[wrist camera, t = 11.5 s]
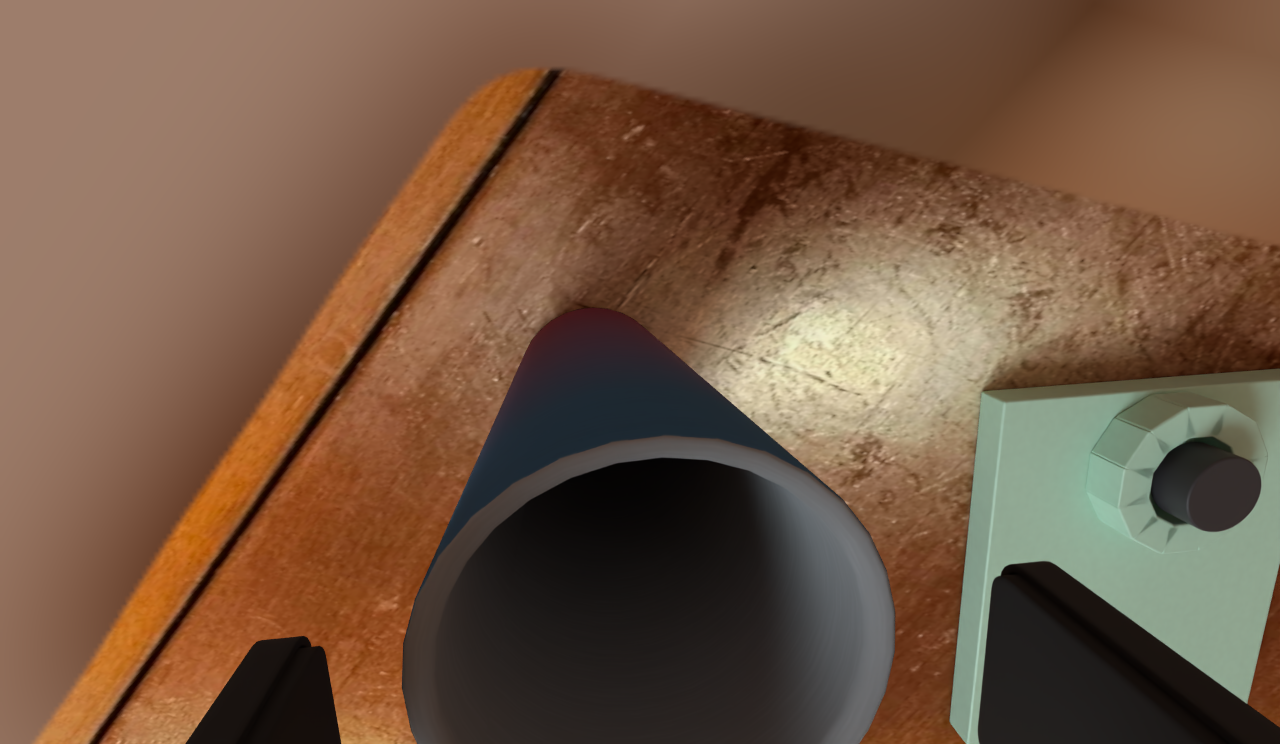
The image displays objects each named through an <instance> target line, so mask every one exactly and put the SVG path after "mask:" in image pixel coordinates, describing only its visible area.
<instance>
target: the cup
mask: <svg viewBox="0 0 1280 744" xmlns="http://www.w3.org/2000/svg"><path fill="white" fill-rule="evenodd" d="M894 652H895V608H894V603H893V599H892V594H891V589H890V584H889V579H888V575H887V570H886V568H885V566H884V564H883V562H882V559H881V557H880V555H879V553H878V551H877V549H876V547H875V544H874V542H873V540H872V538H871V536H870V534H869V532H868V531H867V530H866V528H865V527H864V526H863V524H862V523H861V522H860V521H859V519H858V518H857V517H856V516H855V514H854V513H853V512H852V510H851V509H850V508H849V507H848V505H847V504H846V503H845V502H844V500H843V499H842V498H841V497H839V496H838V495H837V494H836V493H835V492H834V491H833V490H831V489H830V488H829V487H828V486H827V485H826V484H824V483H823V482H822V481H821V480H820V479H819V478H818V477H816V476H815V475H814V474H813V473H812V472H811V471H809V470H808V469H807V468H806V467H805V466H804V465H802V464H801V463H800V462H799V461H798V460H797V459H796V458H794V457H793V456H792V455H791V454H790V453H789V452H787V451H786V450H785V449H784V448H783V447H782V446H781V445H779V444H778V443H777V442H776V441H775V440H774V439H772V438H771V437H770V436H769V435H768V434H767V433H765V432H764V431H763V430H762V429H761V428H760V427H759V426H757V425H756V424H755V423H754V422H753V421H752V420H750V419H749V418H748V417H747V416H746V415H745V414H744V413H742V412H741V411H740V410H739V409H738V408H737V407H735V406H734V405H733V404H732V403H731V402H730V401H728V400H727V399H726V398H725V397H724V396H723V395H722V394H720V393H719V392H718V391H717V390H716V389H715V388H713V387H712V386H711V385H710V384H709V383H708V382H707V381H705V380H704V379H703V378H702V377H701V376H700V375H698V374H697V373H696V372H695V371H694V370H693V369H691V368H690V367H689V366H688V365H687V364H686V363H685V362H683V361H682V360H681V359H680V358H679V357H678V356H676V355H675V354H674V353H673V352H672V351H671V350H670V349H668V348H667V347H666V346H665V345H664V344H663V343H661V342H660V341H659V340H658V339H657V338H656V337H654V336H653V335H652V334H651V333H650V332H649V331H648V330H646V329H645V328H644V327H643V326H642V325H640V324H639V323H638V322H637V321H635V320H634V319H632V318H630V317H628V316H626V315H625V314H623V313H620V312H617V311H613V310H610V309H603V308H585V309H578V310H574V311H571V312H568V313H565V314H563V315H561V316H559V317H557V318H555V319H554V320H552V321H550V322H549V323H548V324H547V325H546V326H544V327H543V328H542V329H541V330H540V331H539V332H538V333H537V335H536V336H535V337H534V338H533V340H532V341H531V343H530V345H529V347H528V349H527V350H526V352H525V354H524V357H523V359H522V361H521V363H520V366H519V368H518V370H517V372H516V375H515V377H514V379H513V381H512V384H511V386H510V388H509V390H508V392H507V395H506V397H505V399H504V401H503V404H502V406H501V408H500V410H499V413H498V415H497V417H496V419H495V422H494V424H493V426H492V428H491V430H490V433H489V435H488V437H487V439H486V442H485V444H484V446H483V448H482V451H481V453H480V455H479V457H478V460H477V462H476V464H475V466H474V468H473V471H472V473H471V475H470V477H469V480H468V482H467V484H466V486H465V489H464V491H463V493H462V495H461V498H460V500H459V502H458V504H457V506H456V509H455V511H454V513H453V515H452V518H451V520H450V522H449V524H448V527H447V529H446V531H445V533H444V536H443V538H442V540H441V542H440V545H439V547H438V549H437V551H436V553H435V556H434V558H433V560H432V562H431V565H430V567H429V569H428V571H427V574H426V576H425V578H424V580H423V583H422V585H421V587H420V589H419V591H418V594H417V596H416V598H415V602H414V605H413V609H412V613H411V617H410V620H409V624H408V628H407V631H406V635H405V639H404V643H403V671H402V690H403V695H404V699H405V704H406V709H407V713H408V718H409V723H410V728H411V731H412V733H413V736H414V738H415V740H416V742H417V744H859V743H860V741H861V740H862V738H863V737H864V735H865V734H866V732H867V731H868V729H869V727H870V725H871V723H872V720H873V718H874V716H875V714H876V712H877V709H878V707H879V705H880V703H881V700H882V698H883V696H884V694H885V691H886V687H887V683H888V678H889V674H890V670H891V665H892V661H893V657H894Z"/></svg>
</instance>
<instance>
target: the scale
mask: <svg viewBox="0 0 1280 744" xmlns="http://www.w3.org/2000/svg"><path fill="white" fill-rule="evenodd" d="M1189 442H1203V443H1206V444H1209V445H1212V446H1214V447H1217V448H1219V449H1222V450H1225V451H1227V452H1230V453H1232V454H1235V455H1238V456H1240V457H1243V458H1245V459H1247V460H1249V461H1250V462H1252V463H1253V464H1254V465H1255V466H1256V468H1257V469H1258V471H1259V473H1260V476H1261V492H1260V496H1259V499H1258V501H1257V503H1256V505H1255V507H1254V508H1253V510H1252V511H1251V512H1250V514H1249V515H1248V516H1247V517H1246V518H1245V519H1244V520H1243V521H1241V522H1240V523H1239V524H1237V525H1236V526H1234V527H1232V528H1230V529H1227V530H1224V531H1220V532H1206V531H1202V530H1200V529H1198V528H1196V527H1194V526H1192V525H1190V524H1188V523H1186V522H1184V521H1182V520H1180V519H1179V518H1177V517H1175V516H1173V515H1171V514H1169V513H1167V512H1165V511H1163V510H1162V509H1160V508H1159V507H1158V506H1157V504H1156V503H1155V502H1154V500H1153V498H1152V495H1151V485H1152V479H1153V473H1154V472H1155V470H1156V469H1157V468H1158V466H1159V465H1160V463H1161V462H1162V460H1163V459H1164V458H1165V456H1166V455H1167V453H1168V452H1169V451H1171V450H1172V449H1174V448H1175V447H1177V446H1179V445H1182V444H1185V443H1189ZM1037 561H1050V562H1052V563H1053V564H1055V565H1057V566H1058V567H1060V568H1061V569H1062V570H1064V571H1065V572H1067V573H1068V574H1069V575H1071V576H1072V577H1073V578H1075V579H1076V580H1078V581H1079V582H1080V583H1082V584H1083V585H1084V586H1086V587H1087V588H1088V589H1090V590H1091V591H1093V592H1094V593H1095V594H1097V595H1098V596H1099V597H1101V598H1102V599H1104V600H1105V601H1106V602H1108V603H1109V604H1110V605H1112V606H1113V607H1115V608H1116V609H1117V610H1119V611H1120V612H1121V613H1123V614H1124V615H1126V616H1127V617H1128V618H1130V619H1131V620H1132V621H1134V622H1135V623H1137V624H1138V625H1139V626H1141V627H1142V628H1143V629H1145V630H1146V631H1148V632H1149V633H1150V634H1152V635H1153V636H1154V637H1156V638H1157V639H1159V640H1160V641H1161V642H1163V643H1164V644H1165V645H1167V646H1168V647H1170V648H1171V649H1172V650H1174V651H1175V652H1176V653H1178V654H1179V655H1181V656H1182V657H1183V658H1185V659H1186V660H1187V661H1189V662H1190V663H1192V664H1193V665H1194V666H1196V667H1197V668H1198V669H1200V670H1201V671H1203V672H1204V673H1205V674H1207V675H1208V676H1209V677H1211V678H1212V679H1214V680H1215V681H1216V682H1218V683H1219V684H1220V685H1222V686H1223V687H1224V688H1226V689H1227V690H1229V691H1230V692H1231V693H1233V694H1234V695H1235V696H1237V697H1238V698H1240V699H1241V700H1242V701H1244V702H1245V703H1246V704H1247V702H1248V698H1249V693H1250V689H1251V685H1252V680H1253V676H1254V672H1255V668H1256V663H1257V659H1258V655H1259V650H1260V646H1261V642H1262V637H1263V633H1264V629H1265V625H1266V620H1267V616H1268V612H1269V607H1270V603H1271V599H1272V594H1273V590H1274V586H1275V582H1276V577H1277V573H1278V569H1279V564H1280V369H1267V370H1254V371H1241V372H1228V373H1215V374H1202V375H1188V376H1175V377H1162V378H1149V379H1136V380H1123V381H1110V382H1097V383H1084V384H1071V385H1058V386H1044V387H1031V388H1018V389H1005V390H992V391H983V392H982V394H981V404H980V414H979V425H978V435H977V445H976V455H975V466H974V476H973V486H972V496H971V507H970V517H969V527H968V537H967V548H966V558H965V568H964V578H963V588H962V599H961V609H960V619H959V629H958V640H957V650H956V660H955V670H954V681H953V691H952V701H951V711H950V723H951V724H952V726H953V727H954V728H955V730H956V731H957V732H958V734H959V735H960V736H961V738H962V739H963V740H964V742H965V743H966V744H979V739H978V720H979V710H980V700H981V690H982V679H983V669H984V659H985V649H986V639H987V629H988V618H989V608H990V598H991V588H992V583H993V580H994V579H995V578H996V577H998V576H1000V575H1001V572H1002V570H1003V569H1004V567H1005V566H1007V565H1009V564H1018V563H1028V562H1037Z"/></svg>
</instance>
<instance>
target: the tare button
mask: <svg viewBox="0 0 1280 744" xmlns="http://www.w3.org/2000/svg"><path fill="white" fill-rule="evenodd" d="M1260 492H1261V476H1260V473H1259V471H1258V469H1257V468H1256V466H1255V465H1254V464H1253V463H1252V462H1250V461H1249V460H1247V459H1245V458H1243V457H1240V456H1238V455H1235V454H1232V453H1230V452H1227V451H1225V450H1222V449H1219V448H1217V447H1214V446H1212V445H1209V444H1206V443H1203V442H1189V443H1185V444H1182V445H1179V446H1177V447H1175V448H1174V449H1172V450H1171V451H1169V452H1168V453H1167V455H1166V456H1165V458H1164V459H1163V460H1162V462H1161V463H1160V465H1159V466H1158V468H1157V469H1156V470H1155V472H1154V473H1153V479H1152V485H1151V495H1152V498H1153V500H1154V502H1155V503H1156V504H1157V506H1158V507H1159V508H1160V509H1162V510H1163V511H1165V512H1167V513H1169V514H1171V515H1173V516H1175V517H1177V518H1179V519H1180V520H1182V521H1184V522H1186V523H1188V524H1190V525H1192V526H1194V527H1196V528H1198V529H1200V530H1202V531H1206V532H1220V531H1224V530H1227V529H1230V528H1232V527H1234V526H1236V525H1237V524H1239V523H1240V522H1241V521H1243V520H1244V519H1245V518H1246V517H1247V516H1248V515H1249V514H1250V512H1251V511H1252V510H1253V508H1254V507H1255V505H1256V503H1257V501H1258V499H1259V496H1260Z"/></svg>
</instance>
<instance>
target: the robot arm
mask: <svg viewBox="0 0 1280 744" xmlns="http://www.w3.org/2000/svg"><path fill="white" fill-rule="evenodd" d="M978 739H979V744H1280V728H1279V727H1278V726H1277V725H1275V724H1274V723H1273V722H1271V721H1270V720H1268V719H1267V718H1266V717H1264V716H1263V715H1262V714H1260V713H1259V712H1257V711H1256V710H1255V709H1253V708H1252V707H1251V706H1249V705H1248V704H1246V703H1245V702H1244V701H1242V700H1241V699H1240V698H1238V697H1237V696H1235V695H1234V694H1233V693H1231V692H1230V691H1229V690H1227V689H1226V688H1224V687H1223V686H1222V685H1220V684H1219V683H1218V682H1216V681H1215V680H1214V679H1212V678H1211V677H1209V676H1208V675H1207V674H1205V673H1204V672H1203V671H1201V670H1200V669H1198V668H1197V667H1196V666H1194V665H1193V664H1192V663H1190V662H1189V661H1187V660H1186V659H1185V658H1183V657H1182V656H1181V655H1179V654H1178V653H1176V652H1175V651H1174V650H1172V649H1171V648H1170V647H1168V646H1167V645H1165V644H1164V643H1163V642H1161V641H1160V640H1159V639H1157V638H1156V637H1154V636H1153V635H1152V634H1150V633H1149V632H1148V631H1146V630H1145V629H1143V628H1142V627H1141V626H1139V625H1138V624H1137V623H1135V622H1134V621H1132V620H1131V619H1130V618H1128V617H1127V616H1126V615H1124V614H1123V613H1121V612H1120V611H1119V610H1117V609H1116V608H1115V607H1113V606H1112V605H1110V604H1109V603H1108V602H1106V601H1105V600H1104V599H1102V598H1101V597H1099V596H1098V595H1097V594H1095V593H1094V592H1093V591H1091V590H1090V589H1088V588H1087V587H1086V586H1084V585H1083V584H1082V583H1080V582H1079V581H1078V580H1076V579H1075V578H1073V577H1072V576H1071V575H1069V574H1068V573H1067V572H1065V571H1064V570H1062V569H1061V568H1060V567H1058V566H1057V565H1055V564H1053V563H1052V562H1050V561H1037V562H1028V563H1018V564H1009V565H1007V566H1005V567H1004V569H1003V570H1002V572H1001V575H1000V576H998V577H996V578H995V579H994V580H993V583H992V588H991V598H990V608H989V618H988V629H987V639H986V649H985V659H984V669H983V679H982V690H981V700H980V710H979V720H978ZM186 744H341V740H340V734H339V728H338V723H337V717H336V711H335V705H334V700H333V694H332V688H331V683H330V677H329V671H328V665H327V660H326V655H325V651H324V649H323V648H322V647H321V646H315V647H311V643H310V641H309V640H308V638H307V637H305V636H299V637H290V638H280V639H270V640H261V641H258V642H256V643H255V644H254V645H253V646H252V647H251V649H250V650H249V652H248V653H247V655H246V656H245V658H244V659H243V661H242V662H241V664H240V665H239V666H238V668H237V669H236V671H235V672H234V674H233V675H232V677H231V678H230V680H229V681H228V682H227V684H226V685H225V687H224V688H223V690H222V691H221V693H220V694H219V696H218V697H217V699H216V700H215V701H214V703H213V704H212V706H211V707H210V709H209V710H208V712H207V713H206V715H205V716H204V717H203V719H202V720H201V722H200V723H199V725H198V726H197V728H196V729H195V731H194V732H193V734H192V735H191V736H190V738H189V739H188V741H187V742H186Z"/></svg>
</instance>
